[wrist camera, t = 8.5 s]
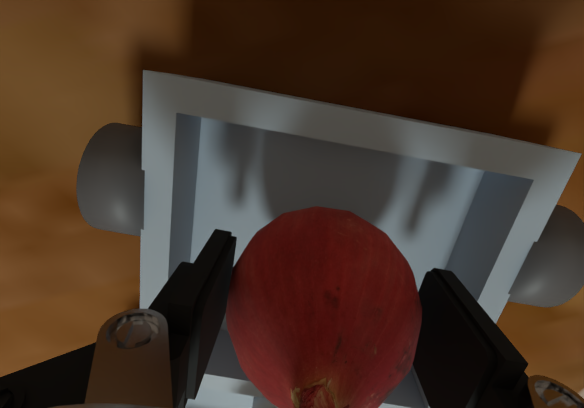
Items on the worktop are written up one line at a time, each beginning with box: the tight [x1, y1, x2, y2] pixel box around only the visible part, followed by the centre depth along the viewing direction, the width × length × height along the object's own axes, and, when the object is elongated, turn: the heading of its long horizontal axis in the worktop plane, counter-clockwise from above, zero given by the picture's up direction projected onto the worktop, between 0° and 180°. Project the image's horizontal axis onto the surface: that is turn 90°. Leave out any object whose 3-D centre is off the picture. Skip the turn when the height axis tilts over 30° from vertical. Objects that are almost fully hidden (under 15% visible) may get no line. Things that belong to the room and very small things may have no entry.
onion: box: [226, 206, 422, 408], centre depth 9 cm, size 6×6×8 cm
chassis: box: [77, 70, 584, 408], centre depth 14 cm, size 20×17×4 cm
